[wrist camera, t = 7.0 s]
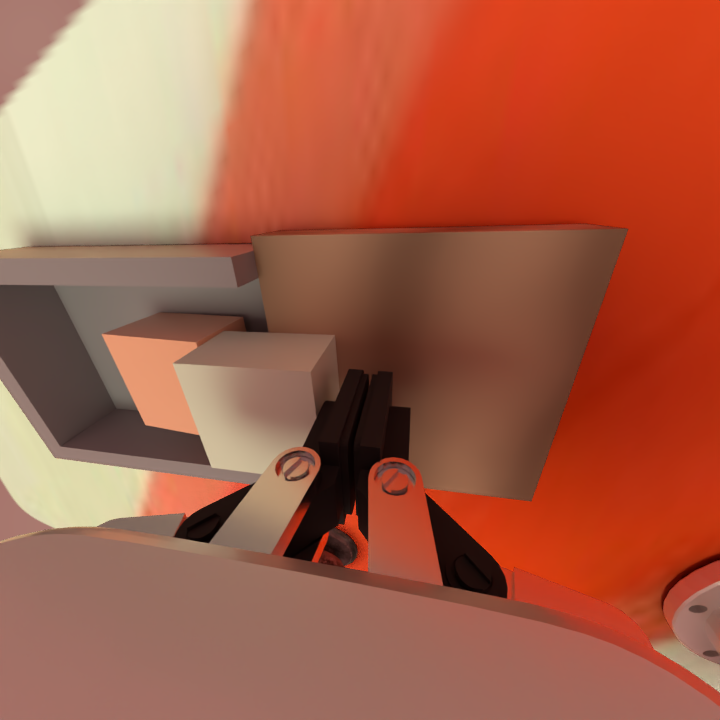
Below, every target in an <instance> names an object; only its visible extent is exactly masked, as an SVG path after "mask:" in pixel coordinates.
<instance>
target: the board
mask: <svg viewBox="0 0 720 720" xmlns="http://www.w3.org/2000/svg"><path fill="white" fill-rule="evenodd" d="M627 231H628V229H626V228H618V227H609V226H601V225H593V224H553V225H508V226H463V227H419V228H374V229H329V230H284V231H275V232H269V233H264V234H259V235H254V236H251V240H252V246H253V251H254V256H255V262H256V267H257V272H258V278H259V283H260V288H261V294H262V299H263V304H264V310H265V315H266V320H267V326H268V331H269V333H294V334H322V335H335V341H336V353H337V365H338V377H339V389H341V386H342V384H343V382H344V379H345V377H346V375H347V372H348V370H349V369H358V370H364V374H369V385H370V381H371V378H372V374H378V371H388V372H393V386H392V406H398V407H410V408H411V416H410V441H409V462H411V463H412V464H413V465H415V466H416V468H417V469H418V470H419V471H420V474H421V476H422V480H423V486H424V488H428V489H436V490H444V491H452V492H460V493H468V494H476V495H484V496H492V497H500V498H508V499H516V500H524V501H532V498H533V495H534V493H535V490H536V487H537V484H538V481H539V478H540V476H541V473H542V470H543V467H544V464H545V462H546V459H547V456H548V453H549V450H550V448H551V445H552V442H553V439H554V436H555V434H556V431H557V428H558V425H559V422H560V419H561V417H562V414H563V411H564V408H565V405H566V403H567V400H568V397H569V394H570V391H571V389H572V386H573V383H574V380H575V377H576V374H577V372H578V369H579V366H580V363H581V360H582V358H583V355H584V352H585V349H586V346H587V344H588V341H589V338H590V335H591V332H592V329H593V327H594V324H595V321H596V318H597V315H598V313H599V310H600V307H601V304H602V301H603V299H604V296H605V293H606V290H607V287H608V284H609V282H610V279H611V276H612V273H613V270H614V268H615V265H616V262H617V259H618V256H619V254H620V251H621V248H622V245H623V242H624V240H625V237H626V234H627Z"/></svg>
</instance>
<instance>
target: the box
mask: <svg viewBox="0 0 720 720" xmlns="http://www.w3.org/2000/svg"><path fill="white" fill-rule="evenodd" d="M159 312H166V313H184V314H201V315H219V316H236V317H243V319H244V323H245V327H246V332H267V333H269V331H268V326H267V320H266V315H265V310H264V304H263V299H262V294H261V288H260V283H259V278H258V272H257V267H256V262H255V256H254V251H253V246H252V243H240V244H173V245H105V246H37V247H22V248H13V249H4V250H0V379H1V381H2V382H3V384H4V385H5V387H6V388H7V390H8V391H9V392H10V394H11V395H12V397H13V398H14V400H15V401H16V402H17V404H18V405H19V407H20V408H21V410H22V411H23V413H24V414H25V415H26V417H27V418H28V420H29V421H30V423H31V424H32V426H33V427H34V428H35V430H36V431H37V433H38V434H39V436H40V437H41V439H42V440H43V441H44V443H45V444H46V446H47V447H48V449H49V450H50V451H51V453H52V454H53V456H54V457H55V458H60V459H67V460H75V461H82V462H90V463H97V464H104V465H112V466H119V467H126V468H134V469H141V470H149V471H156V472H163V473H171V474H178V475H185V476H193V477H200V478H208V479H215V480H222V481H230V482H237V483H244V484H253V483H255V482H257V480H258V479H259V478H260V476H261V475H262V474H257V473H249V472H242V471H234V470H226V469H219V468H212V467H211V464H210V462H209V459H208V456H207V454H206V451H205V449H204V446H203V443H202V441H201V438H200V435H196V434H191V433H185V432H180V431H175V430H169V429H164V428H159V427H153V426H148V425H145V423H144V421H143V419H142V417H141V415H140V413H139V411H138V409H137V407H136V405H135V403H134V400H133V398H132V396H131V394H130V392H129V390H128V388H127V386H126V384H125V382H124V380H123V378H122V376H121V373H120V371H119V369H118V367H117V365H116V363H115V361H114V359H113V357H112V355H111V353H110V351H109V349H108V347H107V344H106V342H105V340H104V338H103V336H102V334H103V333H106V332H108V331H111V330H114V329H117V328H119V327H122V326H125V325H127V324H130V323H133V322H135V321H138V320H141V319H143V318H146V317H149V316H151V315H154V314H157V313H159Z"/></svg>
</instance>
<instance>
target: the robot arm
mask: <svg viewBox="0 0 720 720" xmlns="http://www.w3.org/2000/svg"><path fill="white" fill-rule="evenodd" d="M392 386H393V372H388V371H378V374H372V378H371V381H370V385H369V374H364V370H358V369H349V370H348V372H347V375H346V377H345V379H344V382H343V384H342V386H341V389H340V391H339V393H338V396H337V398H336V400H335V401H328V400H326V401H325V402H324V403H323V405H322V407H321V409H320V411H319V413H318V416H317V418H316V420H315V422H314V424H313V426H312V428H311V430H310V432H309V434H308V436H307V438H306V441H305V443H304V445H303V447H294V448H290V449H288V450H285V451H283V452H282V453H280V454H279V455H278V456H277V457H276V458H275V459H274V460H273V461H272V462H271V464H270V465H269V466H268V467H267V469H266V470H265V471H264V473H263V474H262V475H261V476H260V478H259V479H258V480H257V482H255V483H253V484H251V485H249V486H246V487H244V488H242V489H240V490H238V491H236V492H234V493H232V494H230V495H228V496H226V497H224V498H222V499H220V500H218V501H216V502H214V503H212V504H210V505H208V506H206V507H204V508H202V509H200V510H198V511H197V512H195V513H193V514H192V515H191V516H189V517H186V515H185V513H181V514H168V515H155V516H142V517H129V518H118V519H114V520H109V521H107V522H105V523H103V524H101V525H99V526H97V527H67V528H57V529H48V530H43V531H38V532H33V533H29V534H24V535H19V536H16V537H12V538H9V539H5V540H3V541H0V720H720V693H719V692H718V691H717V690H715V689H714V688H713V687H711V686H710V685H708V684H707V683H705V682H704V681H703V680H701V679H700V678H698V677H697V676H695V675H694V674H692V673H691V672H689V671H688V670H686V669H685V668H683V667H682V666H680V665H679V664H677V663H675V662H674V661H672V660H670V659H669V658H667V657H665V656H664V655H662V654H660V653H658V652H657V651H655V650H654V649H653V647H652V645H651V643H650V641H649V639H648V637H647V636H646V635H645V634H644V632H643V631H642V630H641V629H640V627H639V626H638V625H637V624H636V623H635V622H634V621H633V620H632V619H631V618H629V617H628V616H627V615H626V614H625V613H624V612H622V611H621V610H619V609H617V608H615V607H613V606H612V605H610V604H608V603H605V602H603V601H600V600H598V599H595V598H592V597H590V596H587V595H585V594H582V593H580V592H577V591H574V590H572V589H569V588H567V587H564V586H561V585H559V584H556V583H554V582H551V581H549V580H546V579H543V578H541V577H538V576H536V575H533V574H530V573H528V572H525V571H523V570H520V569H518V568H515V567H514V570H513V571H511V570H508V569H506V568H503V567H501V566H500V565H499V564H498V563H497V562H496V561H495V559H494V558H493V557H492V556H491V555H490V554H489V553H488V552H487V551H486V550H485V549H484V548H483V547H482V546H481V545H480V544H478V543H477V542H476V541H475V540H474V539H473V538H472V537H471V536H470V535H469V534H468V533H467V532H466V531H465V530H464V529H463V528H462V527H461V526H459V525H458V524H457V523H456V522H455V521H454V520H453V519H452V518H451V517H450V516H449V515H448V514H447V513H446V512H445V511H444V510H443V509H442V508H441V507H439V506H438V505H437V504H436V503H435V502H434V501H433V500H432V499H431V498H430V497H429V496H428V495H427V494H426V493H425V491H424V486H423V480H422V476H421V474H420V471H419V470H418V469H417V468H416V466H415V465H413V464H412V463H411V462H409V441H410V416H411V408H410V407H398V406H392ZM355 499H356V515H358V526H359V530H360V531H361V532H362V534H363V535H364V537H365V538H366V539H367V541H368V572H365V571H360V570H355V569H349V568H344V567H338V566H333V565H327V564H322V563H318V561H319V559H320V556H321V554H322V552H323V549H324V547H325V545H326V542H327V539H328V536H329V531H330V530H332V529H333V528H335V527H336V526H338V524H343V525H344V523H345V518H346V514H351V515H352V513H353V509H354V504H355ZM663 613H664V616H665V618H666V621H667V623H668V624H669V626H670V627H671V629H672V631H673V632H674V634H675V635H676V637H677V639H678V640H679V641H680V642H681V643H682V644H683V645H684V646H685V647H686V648H688V649H689V650H691V651H692V652H694V653H696V654H697V655H699V656H701V657H703V658H705V659H707V660H710V661H712V662H715V663H717V664H720V560H717V561H714V562H712V563H710V564H708V565H705V566H703V567H701V568H699V569H697V570H695V571H693V572H691V573H690V574H688V575H687V576H685V577H684V578H682V579H681V580H679V581H678V582H677V583H676V585H675V586H674V587H673V588H672V589H671V590H670V591H669V593H668V595H667V597H666V599H665V601H664V606H663Z"/></svg>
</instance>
